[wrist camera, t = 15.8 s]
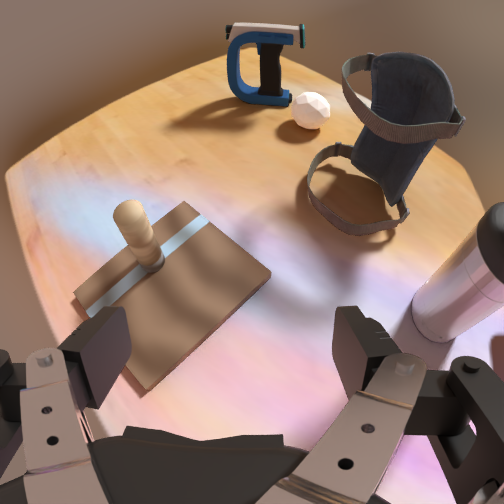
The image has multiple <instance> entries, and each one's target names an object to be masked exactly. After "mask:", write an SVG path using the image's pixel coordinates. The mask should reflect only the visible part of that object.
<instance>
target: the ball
mask: <svg viewBox="0 0 504 504" xmlns="http://www.w3.org/2000/svg"><path fill="white" fill-rule="evenodd" d="M291 113H292V117H293V119H294V120H295V121H296V123H297V124H298V125H299V126H301V127H304V128H306V129H318V128H320V127H321V126H323V125H324V124H325V123H326V122H327V120H328V119H329V117H330V105H329V104H328V102H327V101H326V99H325V98H324V97H322V96H321V95H319V94H317V93H315V92H304V93H302V94H301V95H299V96H297V97H296V98H295V100H294V102H293V104H292V107H291Z"/></svg>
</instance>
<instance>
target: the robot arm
mask: <svg viewBox="0 0 504 504" xmlns="http://www.w3.org/2000/svg"><path fill="white" fill-rule="evenodd" d="M502 306H504V202H500V203H497V204H495V205H493V206H492V207H491V208H490V209H489V210H488V211H487V212H486V213H485V214H484V216H483V217H482V218H481V220H480V221H479V222H478V223H477V225H476V226H475V227H474V228H473V230H472V231H471V232H470V233H469V234H468V236H467V237H466V238H465V239H464V241H463V242H462V243H461V244H460V245H459V246H458V248H457V249H456V250H455V251H454V252H453V253H452V254H451V256H450V257H449V258H448V259H447V260H446V261H445V262H444V263H443V265H442V266H441V267H440V268H439V269H438V270H437V271H436V272H435V273H434V274H433V275H432V276H431V277H430V278H429V279H428V281H427V282H426V283H425V284H424V285H423V286H422V287H421V288H420V289H419V290H418V291H417V292H416V294H415V296H414V298H413V301H412V316H413V320H414V322H415V325H416V327H417V328H418V330H419V331H420V332H421V333H422V334H423V335H424V336H425V337H426V338H428V339H429V340H431V341H434V342H439V343H443V342H447V341H450V340H452V339H453V338H455V337H457V336H458V335H460V334H462V333H463V332H465V331H467V330H468V329H470V328H471V327H473V326H474V325H476V324H477V323H479V322H480V321H482V320H483V319H485V318H486V317H488V316H489V315H491V314H492V313H494V312H495V311H497V310H498V309H499V308H501V307H502ZM131 351H132V343H131V338H130V333H129V328H128V322H127V317H126V312H125V309H124V308H123V307H122V306H104V307H102V308H101V309H100V310H99V311H98V312H97V313H96V314H95V315H94V316H93V317H92V318H90V319H88V320H86V321H84V322H83V323H81V324H80V325H79V326H78V327H77V330H74V331H73V332H72V333H71V335H69V336H68V337H67V338H66V339H65V340H64V341H63V342H62V343H61V345H60V346H59V347H58V348H57V349H56V348H44V349H40V350H38V351H36V352H33V353H32V354H31V355H29V357H28V358H27V360H26V363H12V362H11V359H10V356H9V353H8V352H7V351H5V350H1V349H0V478H1V477H2V475H3V473H4V471H5V470H6V468H7V466H8V465H9V463H10V461H11V460H12V458H13V456H14V455H15V453H16V451H17V450H18V448H19V446H20V445H21V443H22V441H23V442H24V451H25V458H26V465H27V472H26V473H25V474H24V475H23V476H20V477H18V478H16V479H14V480H11V481H9V482H7V483H4V484H2V485H0V504H391V503H389V502H388V501H386V500H384V499H383V498H381V497H380V496H378V495H376V492H377V490H378V488H379V486H380V484H381V483H382V481H383V479H384V477H385V475H386V473H387V471H388V469H389V467H390V465H391V463H392V460H393V458H394V456H395V454H396V452H397V450H398V448H399V445H400V443H401V441H402V439H403V436H404V435H427V437H428V439H429V441H430V443H431V446H432V448H433V450H434V452H435V454H436V457H437V459H438V461H439V463H440V465H441V468H442V470H443V472H444V475H445V477H446V479H447V482H448V484H449V486H450V489H451V491H452V493H453V496H454V498H455V501H456V503H457V504H504V382H503V381H502V380H501V379H500V378H499V377H498V376H497V374H496V373H495V372H494V371H493V370H492V369H491V368H490V367H489V365H488V364H487V363H485V362H484V361H482V360H481V359H478V358H475V357H471V356H461V357H458V358H456V359H454V360H453V361H452V363H451V366H450V369H449V371H440V370H427V366H426V363H425V362H424V361H423V360H422V359H421V358H419V357H417V356H415V355H412V354H407V353H402V352H401V350H400V349H399V348H398V346H397V345H396V344H395V342H394V341H393V340H392V338H390V336H389V334H388V333H387V332H386V330H385V329H384V328H383V326H382V325H381V324H380V323H379V322H377V321H376V320H374V319H372V318H365V316H364V315H363V313H362V312H361V311H360V309H359V308H358V306H342V307H337V308H336V312H335V322H334V332H333V341H332V355H333V360H334V363H335V365H336V368H337V370H338V373H339V376H340V378H341V381H342V383H343V386H344V389H345V391H346V394H347V397H348V399H349V402H348V403H347V405H346V406H345V407H344V409H343V410H342V412H341V413H340V414H339V416H338V417H337V418H336V420H335V421H334V422H333V424H332V425H331V426H330V428H329V429H328V430H327V432H326V433H325V434H324V435H323V437H322V438H321V439H320V440H319V442H318V443H317V444H316V445H315V447H314V448H313V449H312V450H311V452H309V451H306V450H303V449H299V448H295V447H291V446H285V445H284V442H283V434H280V435H240V436H234V437H228V438H221V439H214V440H206V441H198V440H193V439H190V438H186V437H183V436H179V435H176V434H172V433H169V432H166V431H163V430H155V429H147V428H140V427H133V426H126V429H125V431H124V433H123V435H122V436H113V437H107V438H103V439H99V440H96V441H94V438H93V435H92V433H91V430H90V427H89V424H88V421H87V419H86V416H85V414H84V411H83V410H84V408H85V407H88V408H93V409H99V408H100V406H101V405H102V403H103V401H104V399H105V398H106V396H107V394H108V393H109V391H110V389H111V388H112V386H113V384H114V383H115V381H116V379H117V378H118V376H119V374H120V373H121V371H122V369H123V368H124V366H125V364H126V363H127V361H128V360H129V358H130V356H131ZM470 420H472V422H473V423H474V425H475V427H476V435H475V434H474V432H473V430H472V429H471V427H470V425H469V422H470Z"/></svg>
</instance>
